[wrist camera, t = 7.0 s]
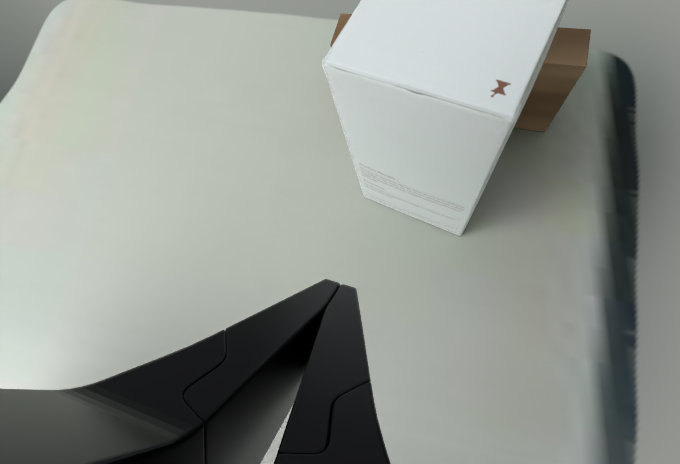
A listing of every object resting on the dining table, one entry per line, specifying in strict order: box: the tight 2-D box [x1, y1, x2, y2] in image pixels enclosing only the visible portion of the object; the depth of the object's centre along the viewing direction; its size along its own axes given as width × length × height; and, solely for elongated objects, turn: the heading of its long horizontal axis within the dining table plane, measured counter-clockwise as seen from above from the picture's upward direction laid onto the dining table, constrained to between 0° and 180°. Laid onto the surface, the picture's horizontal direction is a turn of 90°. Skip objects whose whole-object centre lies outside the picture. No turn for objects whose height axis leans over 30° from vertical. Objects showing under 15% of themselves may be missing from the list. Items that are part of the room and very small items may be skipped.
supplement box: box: [322, 0, 568, 236], centre depth 19 cm, size 7×7×13 cm
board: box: [330, 14, 591, 132], centre depth 23 cm, size 2×14×6 cm, turn 74°
